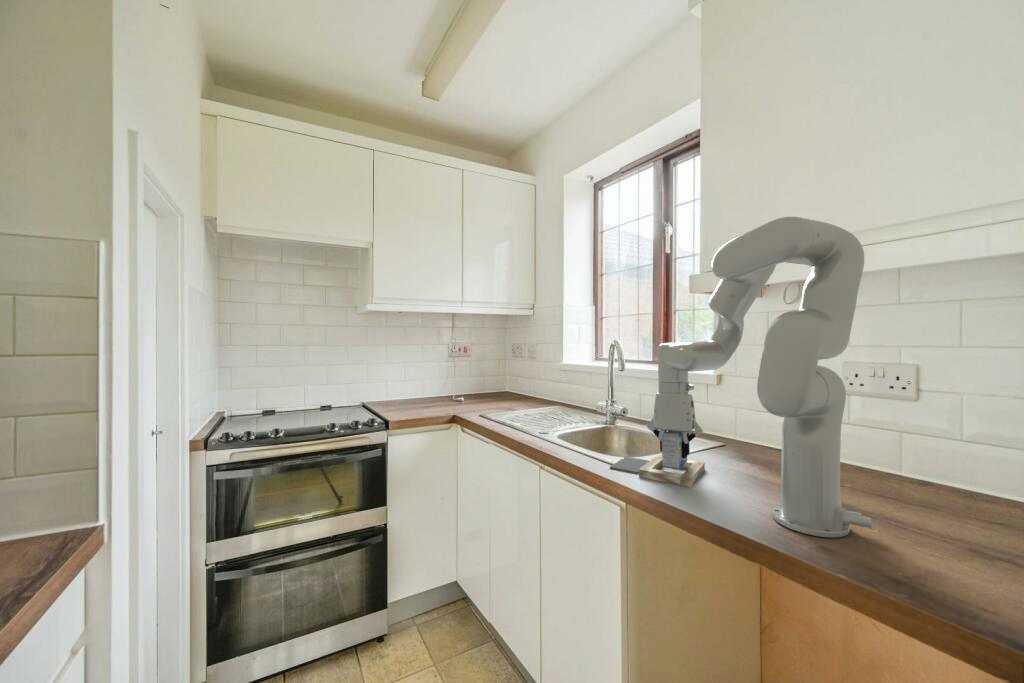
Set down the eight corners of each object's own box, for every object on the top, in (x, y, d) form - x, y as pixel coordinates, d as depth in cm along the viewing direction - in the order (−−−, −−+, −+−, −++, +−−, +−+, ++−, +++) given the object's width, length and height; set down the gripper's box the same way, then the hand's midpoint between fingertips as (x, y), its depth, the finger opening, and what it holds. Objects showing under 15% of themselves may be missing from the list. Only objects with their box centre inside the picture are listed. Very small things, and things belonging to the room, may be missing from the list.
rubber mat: (651, 462, 123) (651, 460, 123) (637, 474, 113) (637, 472, 113) (625, 458, 127) (625, 456, 127) (609, 468, 118) (609, 466, 118)
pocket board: (704, 469, 116) (704, 462, 116) (690, 487, 103) (690, 479, 103) (657, 461, 124) (657, 454, 124) (638, 476, 111) (638, 469, 111)
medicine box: (679, 469, 108) (678, 435, 108) (661, 466, 111) (661, 433, 111) (687, 462, 114) (686, 430, 114) (670, 459, 117) (670, 428, 117)
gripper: (710, 388, 111) (711, 457, 111) (646, 385, 121) (648, 448, 121) (703, 391, 105) (705, 464, 105) (637, 388, 115) (639, 454, 115)
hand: (674, 455), depth 113 cm, fingers closed on medicine box, 4 cm apart
